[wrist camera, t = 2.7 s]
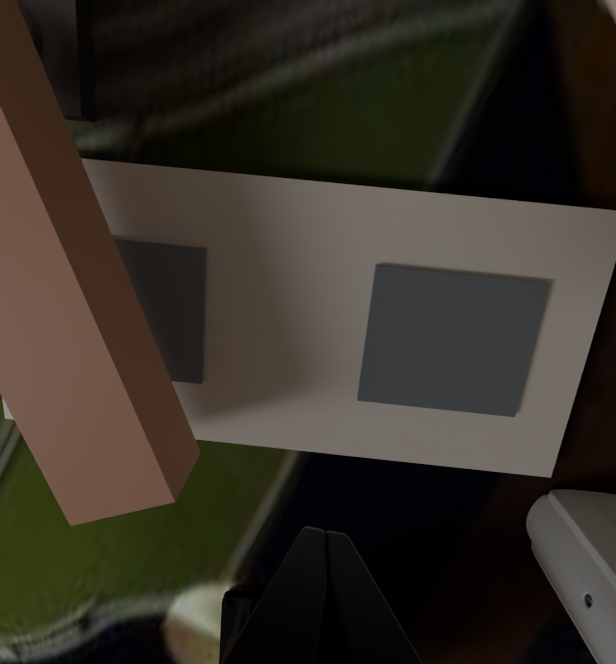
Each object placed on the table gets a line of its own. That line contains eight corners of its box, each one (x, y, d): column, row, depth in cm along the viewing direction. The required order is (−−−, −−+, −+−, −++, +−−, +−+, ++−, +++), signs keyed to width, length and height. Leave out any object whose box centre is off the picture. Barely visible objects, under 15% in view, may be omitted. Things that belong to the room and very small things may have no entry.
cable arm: (200, 452, 17) (174, 502, 14) (112, 474, 17) (70, 526, 15) (-21, -90, 12) (-128, -183, 9) (-134, -40, 13) (-268, -114, 10)
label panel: (540, 464, 20) (554, 481, 19) (19, 408, 21) (0, 421, 20) (613, 211, 17) (636, 211, 16) (-9, 151, 17) (-35, 146, 16)
